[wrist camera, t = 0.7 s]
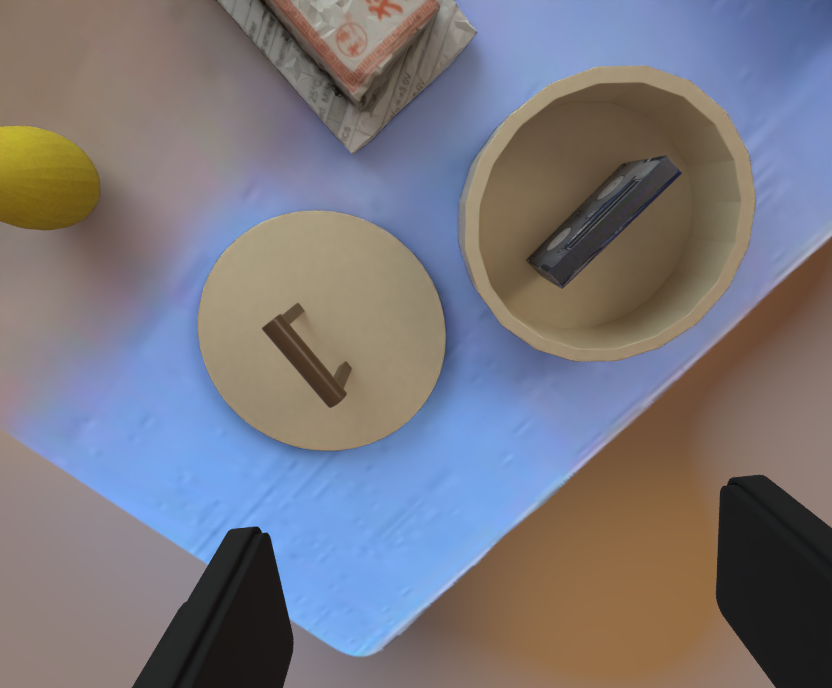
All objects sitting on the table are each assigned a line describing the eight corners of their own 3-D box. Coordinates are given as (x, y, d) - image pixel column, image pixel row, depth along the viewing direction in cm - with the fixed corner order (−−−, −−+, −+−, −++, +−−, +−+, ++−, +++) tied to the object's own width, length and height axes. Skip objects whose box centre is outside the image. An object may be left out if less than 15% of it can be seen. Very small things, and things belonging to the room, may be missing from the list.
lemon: (113, 131, 31) (13, 108, 24) (135, 222, 33) (47, 228, 25) (27, 140, 32) (-100, 120, 24) (53, 230, 33) (-59, 239, 25)
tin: (621, 30, 30) (664, -7, 25) (745, 246, 33) (804, 254, 28) (409, 196, 32) (407, 195, 27) (543, 380, 36) (563, 410, 30)
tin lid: (342, 155, 32) (321, 143, 25) (492, 358, 35) (508, 393, 29) (153, 310, 34) (91, 336, 28) (310, 484, 38) (287, 542, 31)
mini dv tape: (541, 276, 33) (566, 291, 28) (525, 260, 33) (547, 272, 27) (637, 181, 32) (686, 176, 26) (622, 163, 31) (667, 154, 26)
